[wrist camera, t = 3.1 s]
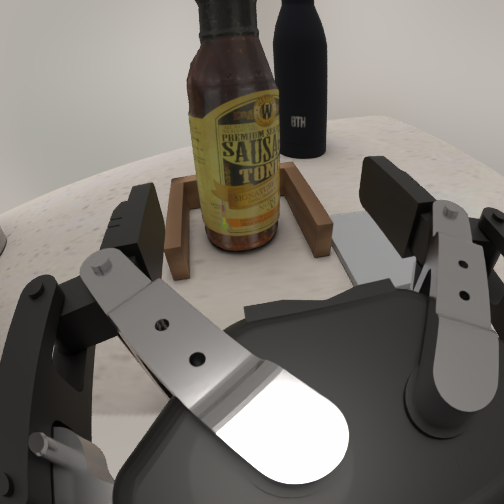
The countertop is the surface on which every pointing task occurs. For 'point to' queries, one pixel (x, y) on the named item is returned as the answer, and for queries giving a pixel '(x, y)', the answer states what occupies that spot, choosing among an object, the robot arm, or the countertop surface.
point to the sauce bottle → (234, 127)
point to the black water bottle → (301, 79)
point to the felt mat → (368, 251)
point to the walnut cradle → (291, 185)
